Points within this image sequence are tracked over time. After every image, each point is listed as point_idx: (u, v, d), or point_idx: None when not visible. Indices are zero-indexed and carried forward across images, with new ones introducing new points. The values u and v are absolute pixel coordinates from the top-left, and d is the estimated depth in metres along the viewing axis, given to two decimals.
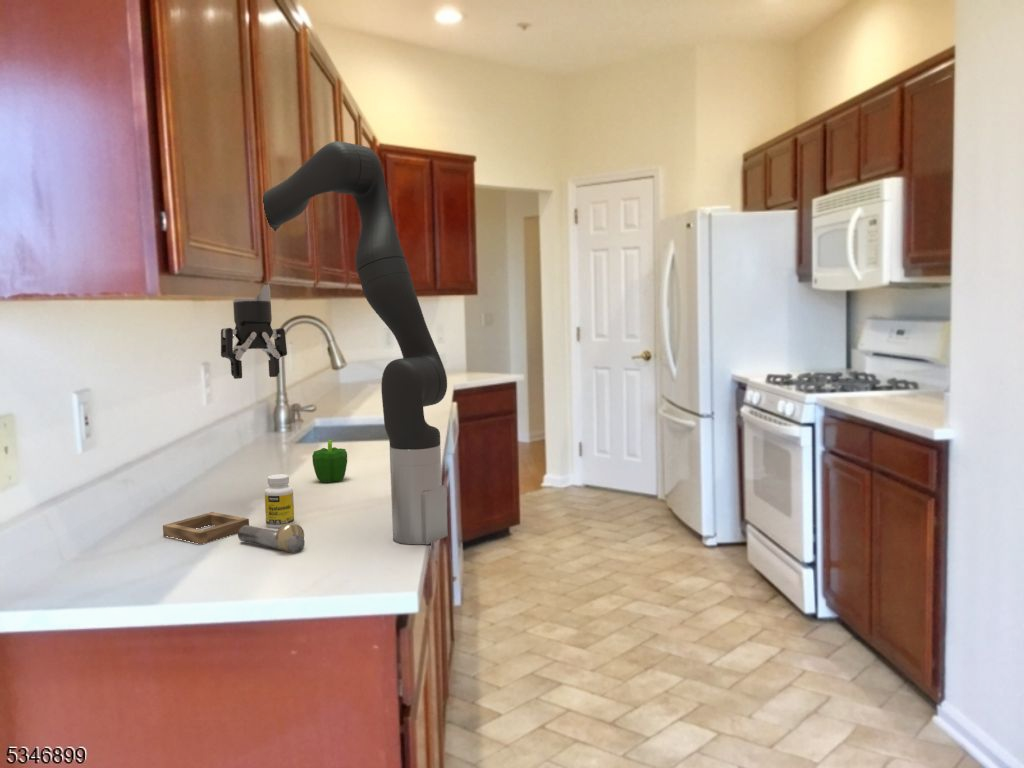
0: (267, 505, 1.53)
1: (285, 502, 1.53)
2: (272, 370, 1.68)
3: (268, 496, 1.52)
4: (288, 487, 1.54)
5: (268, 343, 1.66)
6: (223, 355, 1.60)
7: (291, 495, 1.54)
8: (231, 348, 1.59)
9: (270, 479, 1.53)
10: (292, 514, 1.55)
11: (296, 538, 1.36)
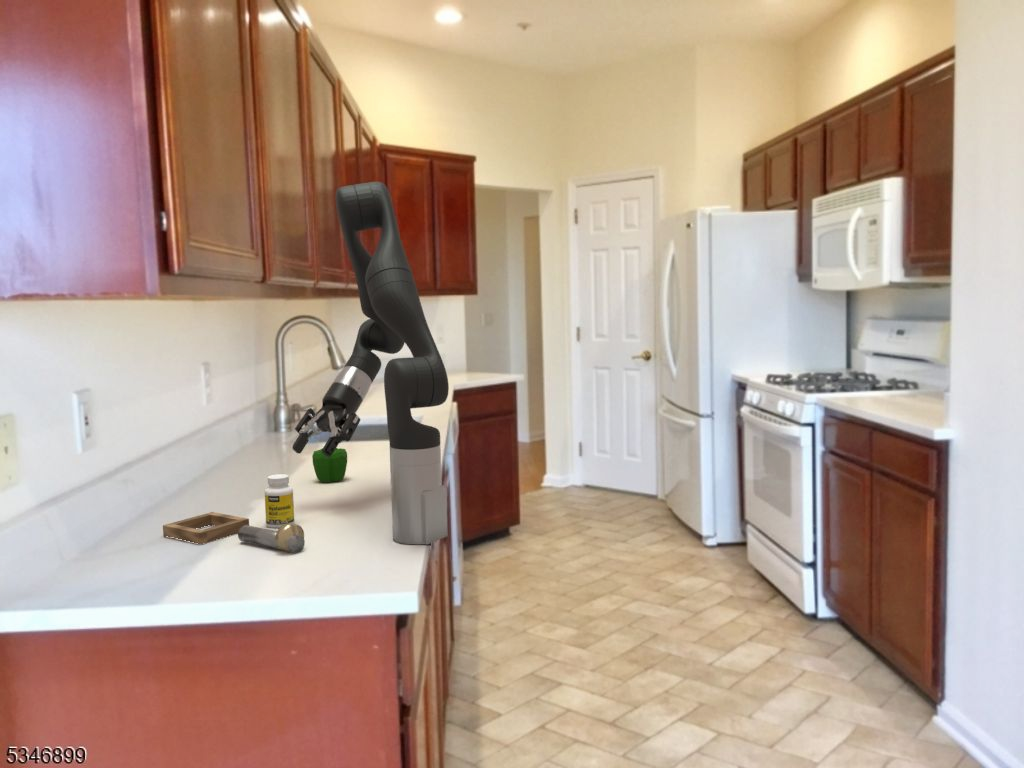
0: (267, 505, 1.53)
1: (285, 502, 1.53)
2: None
3: (268, 496, 1.52)
4: (288, 487, 1.54)
5: (330, 421, 1.63)
6: None
7: (291, 495, 1.54)
8: (301, 423, 1.67)
9: (270, 479, 1.53)
10: (292, 514, 1.55)
11: (296, 538, 1.36)
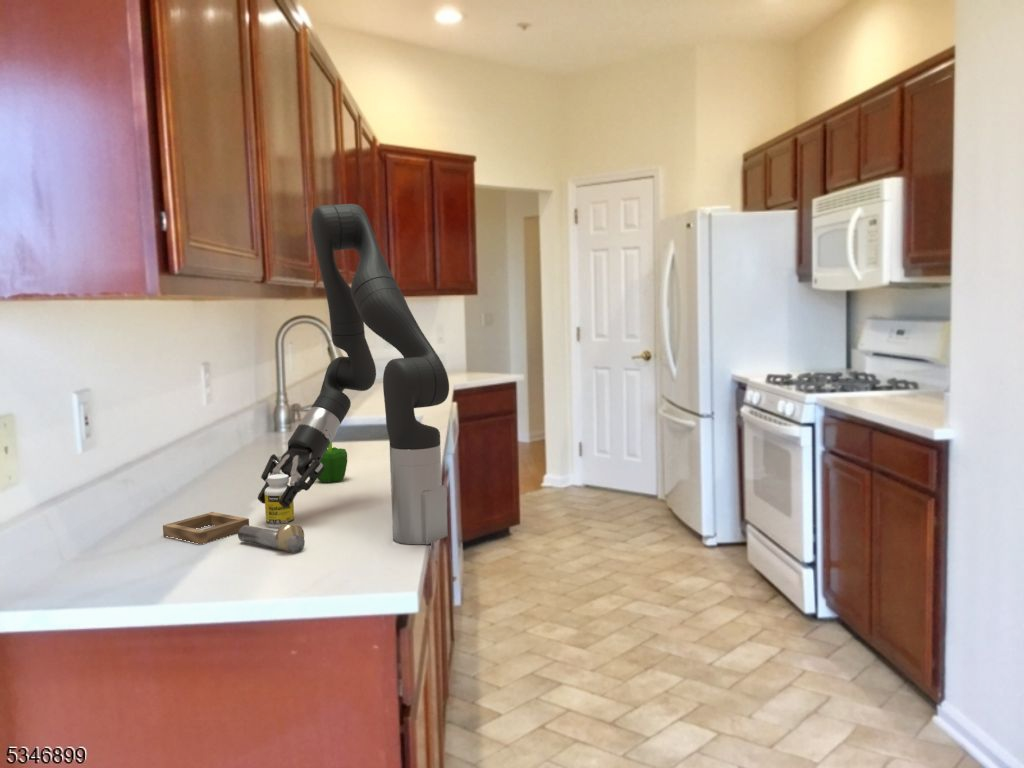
0: (267, 505, 1.53)
1: None
2: None
3: (267, 496, 1.52)
4: None
5: (293, 467, 1.55)
6: None
7: None
8: (267, 471, 1.58)
9: (270, 479, 1.53)
10: (292, 514, 1.55)
11: (296, 538, 1.36)
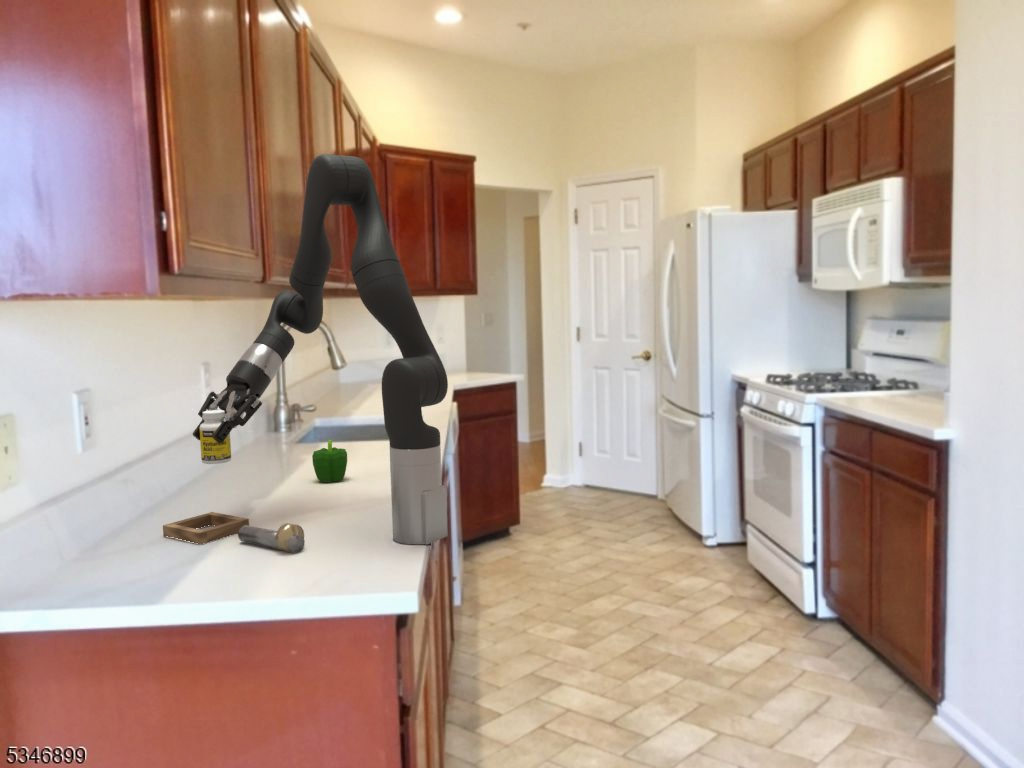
0: (201, 441, 1.48)
1: None
2: None
3: (202, 431, 1.48)
4: None
5: (229, 402, 1.50)
6: None
7: None
8: (204, 407, 1.54)
9: (204, 414, 1.48)
10: (228, 451, 1.50)
11: (296, 538, 1.36)
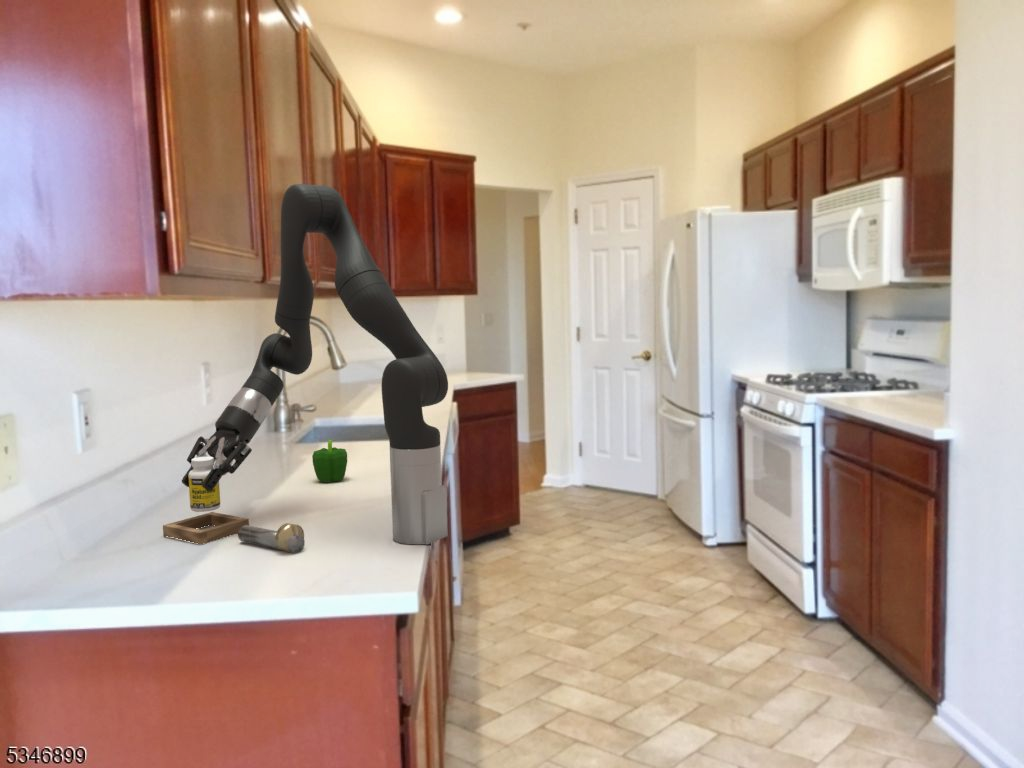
0: (190, 488, 1.47)
1: None
2: None
3: (191, 479, 1.47)
4: None
5: (218, 449, 1.50)
6: None
7: None
8: (193, 453, 1.53)
9: (193, 461, 1.47)
10: (218, 498, 1.49)
11: (296, 538, 1.36)
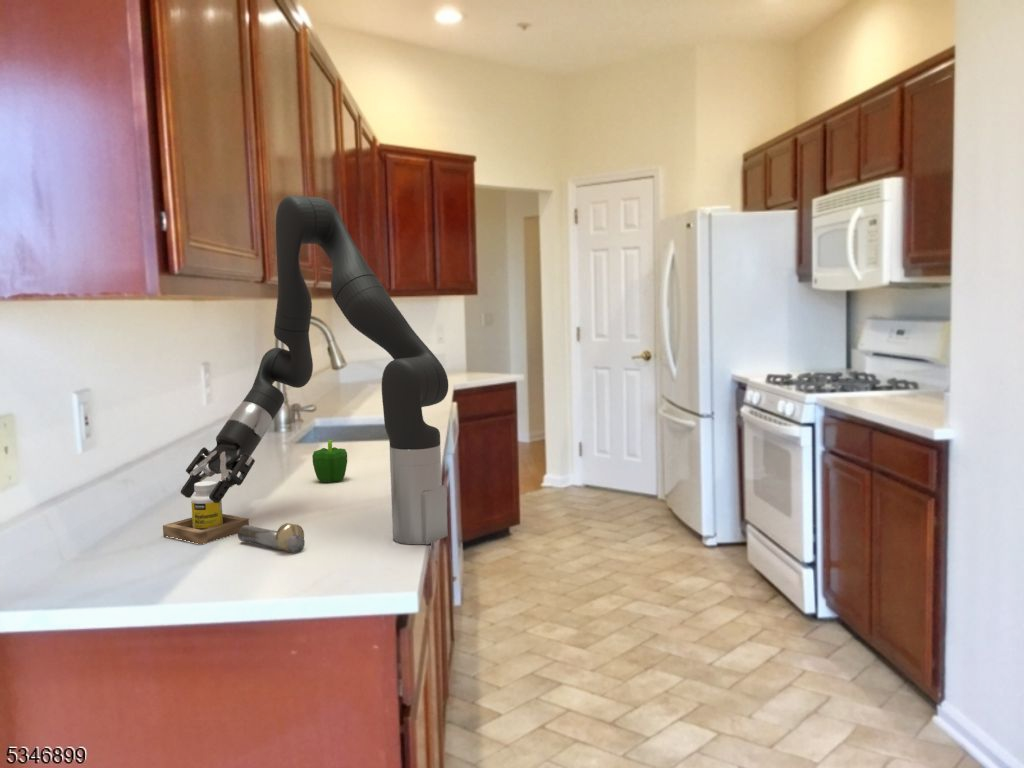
0: (193, 513, 1.48)
1: (212, 510, 1.48)
2: None
3: (194, 504, 1.47)
4: None
5: (221, 463, 1.50)
6: None
7: (219, 503, 1.49)
8: (192, 464, 1.54)
9: (196, 486, 1.48)
10: (220, 522, 1.50)
11: (296, 538, 1.36)
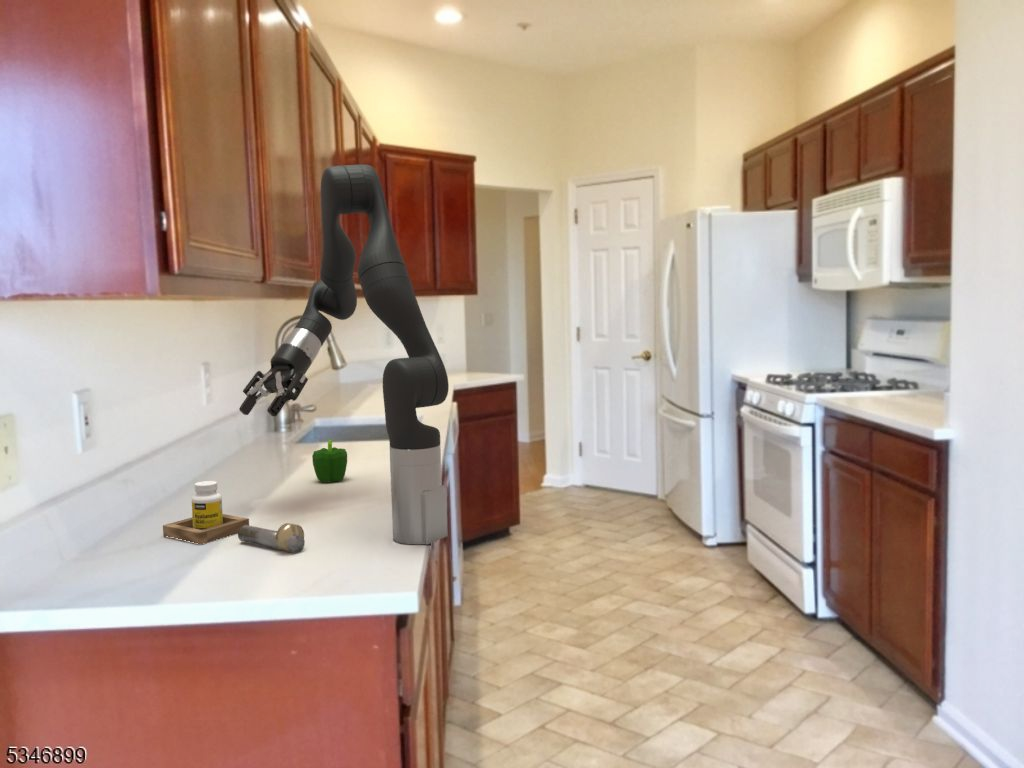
0: (193, 513, 1.48)
1: (212, 510, 1.48)
2: None
3: (194, 503, 1.47)
4: (216, 494, 1.49)
5: (277, 381, 1.61)
6: None
7: (219, 503, 1.49)
8: (249, 385, 1.65)
9: (197, 486, 1.48)
10: (220, 522, 1.50)
11: (296, 538, 1.36)
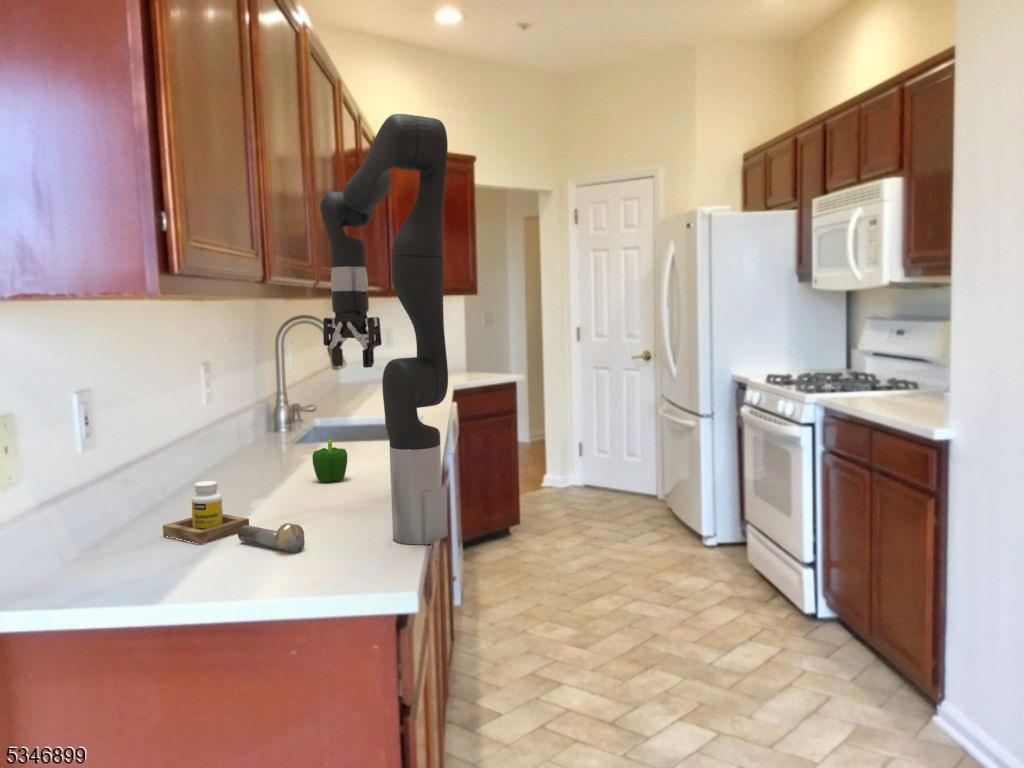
0: (193, 513, 1.48)
1: (212, 510, 1.48)
2: None
3: (194, 503, 1.47)
4: (216, 494, 1.49)
5: (354, 333, 1.62)
6: None
7: (219, 503, 1.49)
8: (326, 337, 1.67)
9: (196, 486, 1.48)
10: (220, 522, 1.50)
11: (296, 538, 1.36)
